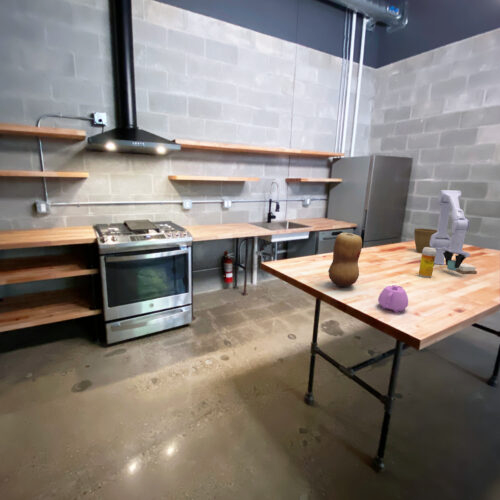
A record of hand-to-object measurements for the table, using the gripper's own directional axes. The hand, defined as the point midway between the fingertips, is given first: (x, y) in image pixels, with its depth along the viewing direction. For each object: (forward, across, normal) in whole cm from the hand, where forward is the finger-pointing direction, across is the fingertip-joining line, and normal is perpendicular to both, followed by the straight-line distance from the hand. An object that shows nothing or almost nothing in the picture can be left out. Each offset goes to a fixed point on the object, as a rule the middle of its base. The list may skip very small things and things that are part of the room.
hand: (452, 266), depth 161 cm
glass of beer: (+4, -1, -18) cm, 18 cm away
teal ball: (+2, 0, 0) cm, 2 cm away
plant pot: (+4, -42, +27) cm, 50 cm away
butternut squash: (+4, +1, -70) cm, 70 cm away
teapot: (+4, +27, -65) cm, 71 cm away
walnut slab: (+5, -1, +11) cm, 12 cm away
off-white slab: (+2, -1, +11) cm, 11 cm away
